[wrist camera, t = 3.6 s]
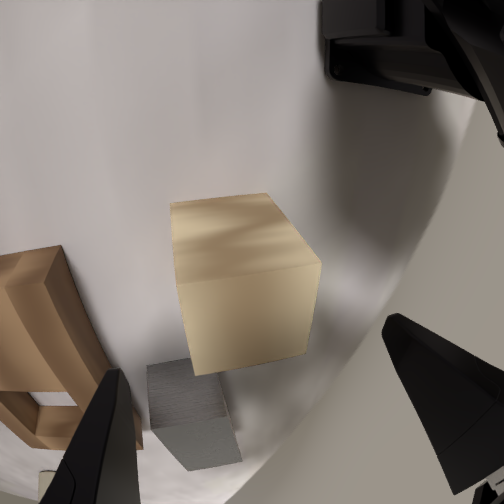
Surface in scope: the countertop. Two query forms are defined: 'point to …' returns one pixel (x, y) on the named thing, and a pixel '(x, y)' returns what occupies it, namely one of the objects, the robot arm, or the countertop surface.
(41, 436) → the socket block
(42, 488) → the travel mug
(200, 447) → the grey rectangular block
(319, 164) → the countertop surface
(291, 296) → the square bit
